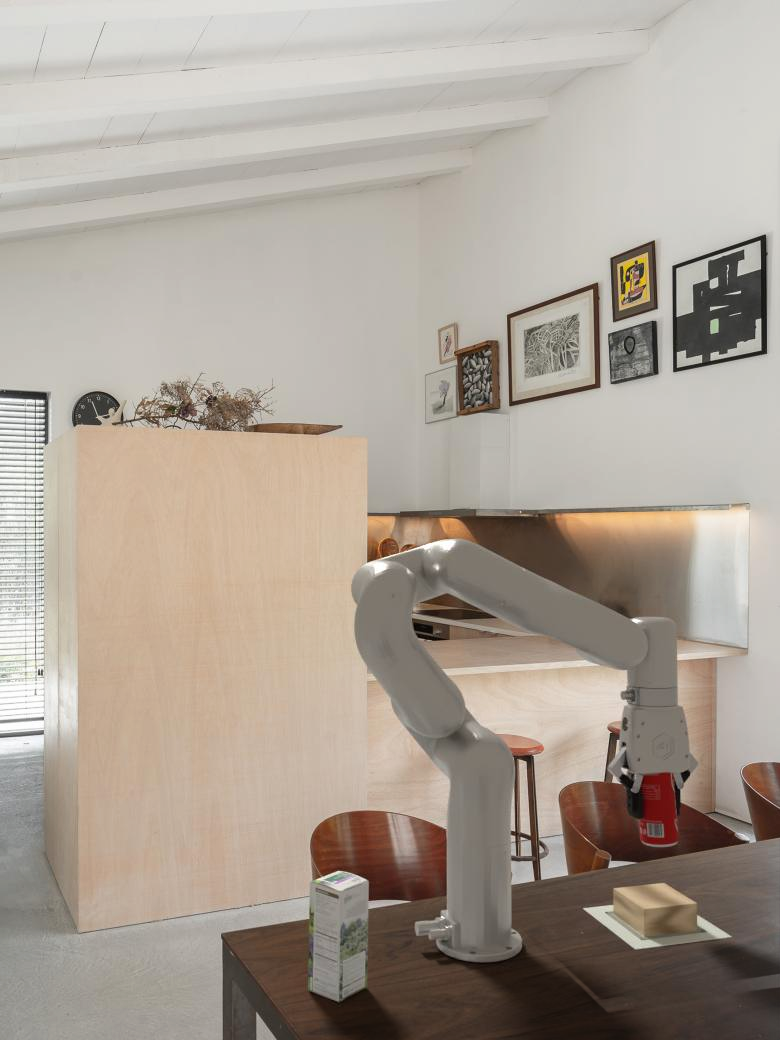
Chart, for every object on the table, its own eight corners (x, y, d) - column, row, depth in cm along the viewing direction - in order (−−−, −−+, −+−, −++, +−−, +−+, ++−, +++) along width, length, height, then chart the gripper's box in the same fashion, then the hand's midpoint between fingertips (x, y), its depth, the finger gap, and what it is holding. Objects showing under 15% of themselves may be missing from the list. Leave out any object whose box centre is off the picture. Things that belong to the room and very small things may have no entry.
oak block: (644, 936, 138) (643, 909, 138) (613, 914, 147) (613, 888, 147) (697, 930, 140) (697, 903, 141) (664, 908, 149) (663, 882, 149)
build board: (635, 957, 134) (635, 948, 134) (582, 915, 149) (582, 907, 149) (732, 945, 138) (731, 936, 138) (671, 905, 153) (671, 897, 153)
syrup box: (336, 975, 128) (336, 868, 128) (369, 988, 124) (369, 877, 125) (307, 990, 123) (307, 879, 124) (340, 1004, 120) (340, 889, 120)
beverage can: (683, 849, 141) (682, 748, 141) (640, 848, 141) (638, 748, 142) (672, 837, 147) (671, 740, 147) (630, 836, 147) (629, 740, 148)
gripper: (614, 703, 139) (616, 826, 138) (715, 698, 143) (717, 817, 143) (590, 696, 146) (591, 813, 145) (687, 691, 151) (688, 804, 150)
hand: (653, 813), depth 144 cm, fingers closed on beverage can, 5 cm apart
